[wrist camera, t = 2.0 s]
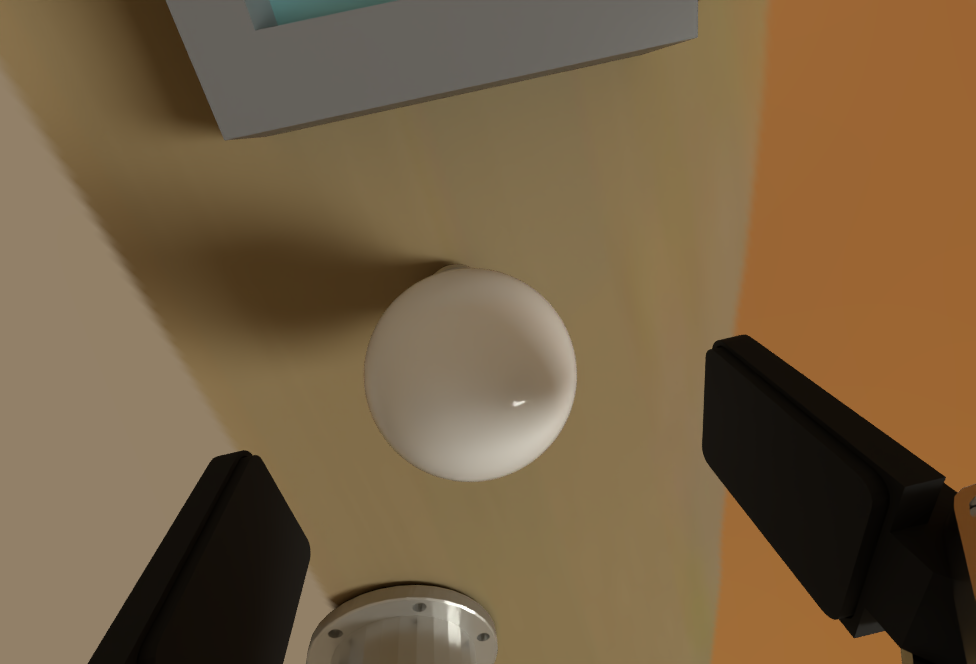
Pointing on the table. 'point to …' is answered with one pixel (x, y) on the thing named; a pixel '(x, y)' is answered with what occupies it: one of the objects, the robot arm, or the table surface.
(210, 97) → the housing
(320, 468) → the table surface
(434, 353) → the lightbulb
